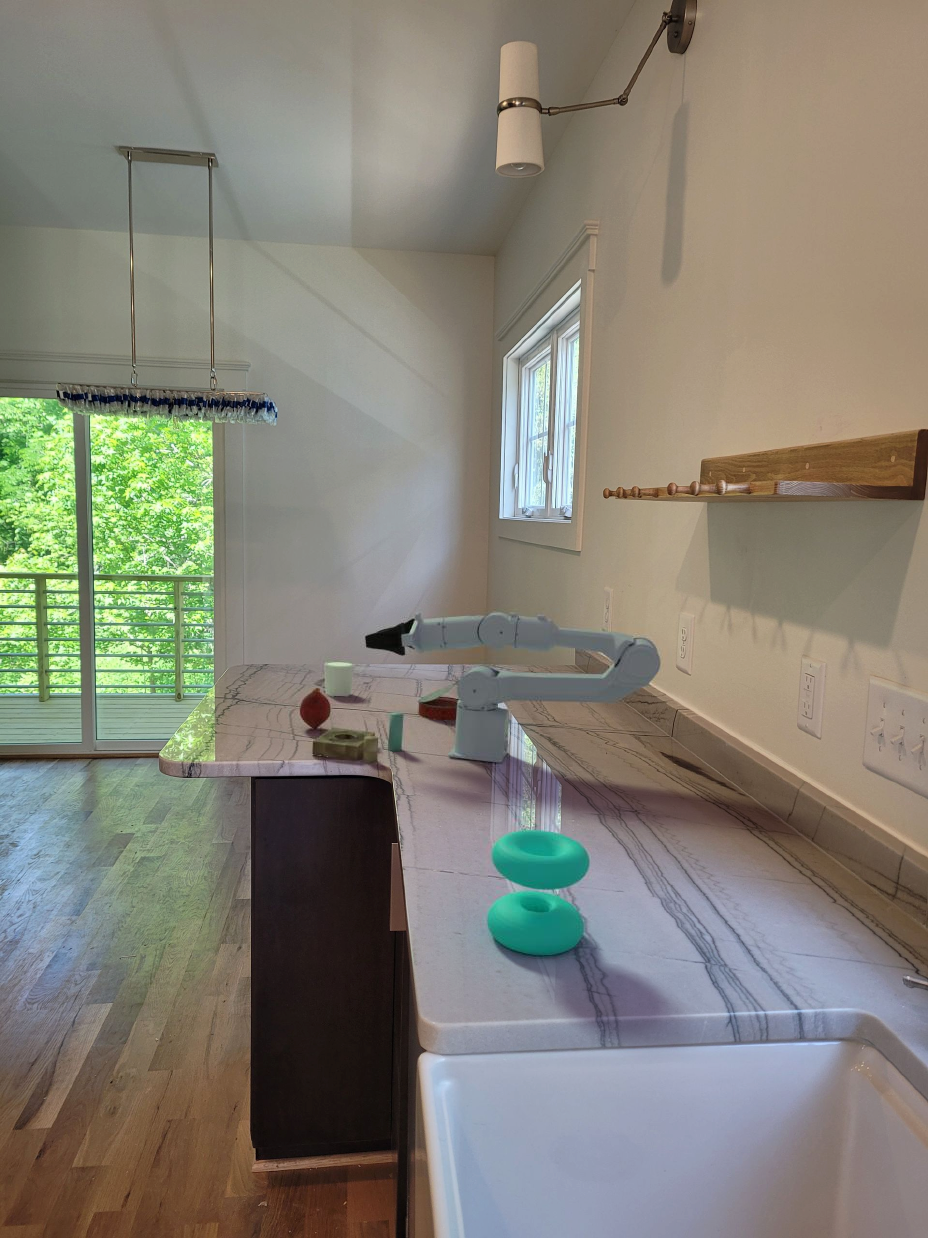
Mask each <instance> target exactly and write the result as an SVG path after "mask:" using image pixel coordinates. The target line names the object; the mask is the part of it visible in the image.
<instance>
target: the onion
mask: <svg viewBox="0 0 928 1238" xmlns="http://www.w3.org/2000/svg"><path fill="white" fill-rule="evenodd" d="M331 711H332V709H331V703H330V701H329V699H328V697H327V696H325V695H324V694H323V693H321V688H320V687H317V686H316V687H314V688H313V690H312V691H311V692H310V693H309V694H307V695H306V696H305V697H304V698H303V699H302V701H301V703H300V706H299V715H300V718H301V720H302V721H303V722H304V723H306V725H307V726H309V727H310V728H311V729H313V728H316V729H318V728H319V727H320V726H321V725H323V724H324V723H325V722H326V721H327V720H329V718H330V715H331Z"/></svg>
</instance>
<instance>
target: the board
mask: <svg viewBox="0 0 928 1238" xmlns="http://www.w3.org/2000/svg"><path fill="white" fill-rule="evenodd" d="M366 736H375V737H376V733H375V732H374V731H366V730H365V731H364V730H356V729H347V728H339V727H331V728H330V729H329V730H327V731H326V732H324V733H322V734H321V735H320V736H319V737H317V738H316V739H314V740H313V741H312V749H311V750H312V751H311V753H312V754H313V755H321V756H326V757H325V758H328V757H334V758H333V759H337V758H339V759H338V760H347V761H352V762H353V761H354V762H356V761H357V762H358V761H359V760H360V759H361V758H363V751H364V737H366ZM312 754H311V755H312ZM327 756H328V757H327Z"/></svg>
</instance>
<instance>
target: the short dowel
mask: <svg viewBox="0 0 928 1238" xmlns="http://www.w3.org/2000/svg"><path fill="white" fill-rule="evenodd" d="M378 749H379V737H378V736H376V735H375V736H366V737H364V751H363V756H362V762H364V763H367V764H375V763H377V762H378V752H379V750H378Z"/></svg>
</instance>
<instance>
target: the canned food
mask: <svg viewBox="0 0 928 1238" xmlns="http://www.w3.org/2000/svg"><path fill="white" fill-rule="evenodd" d="M459 681H460V679H458V680H457V681H456V682H454V683H452V684H451V685H447V686H445V687H443V688H440V689H437V690H436V691H434V692H431V693H429V694H428V695H425V696H423V697H422V698H419V700H418V716H420V717H421V716H422V717H421V718H424V717H425V718H424V719H427V718H429V719H428V720H433V719H436V720H435V721H444V720H450V721H456V715H457V701H458V700H460V699H459V698H456V697H455V698H454V697H448V696H443V695H445V694H446V693H448V692H449V691H450V690H451V689H452V688H453V687H454V686H456V685H457V684H458V683H459Z"/></svg>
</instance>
